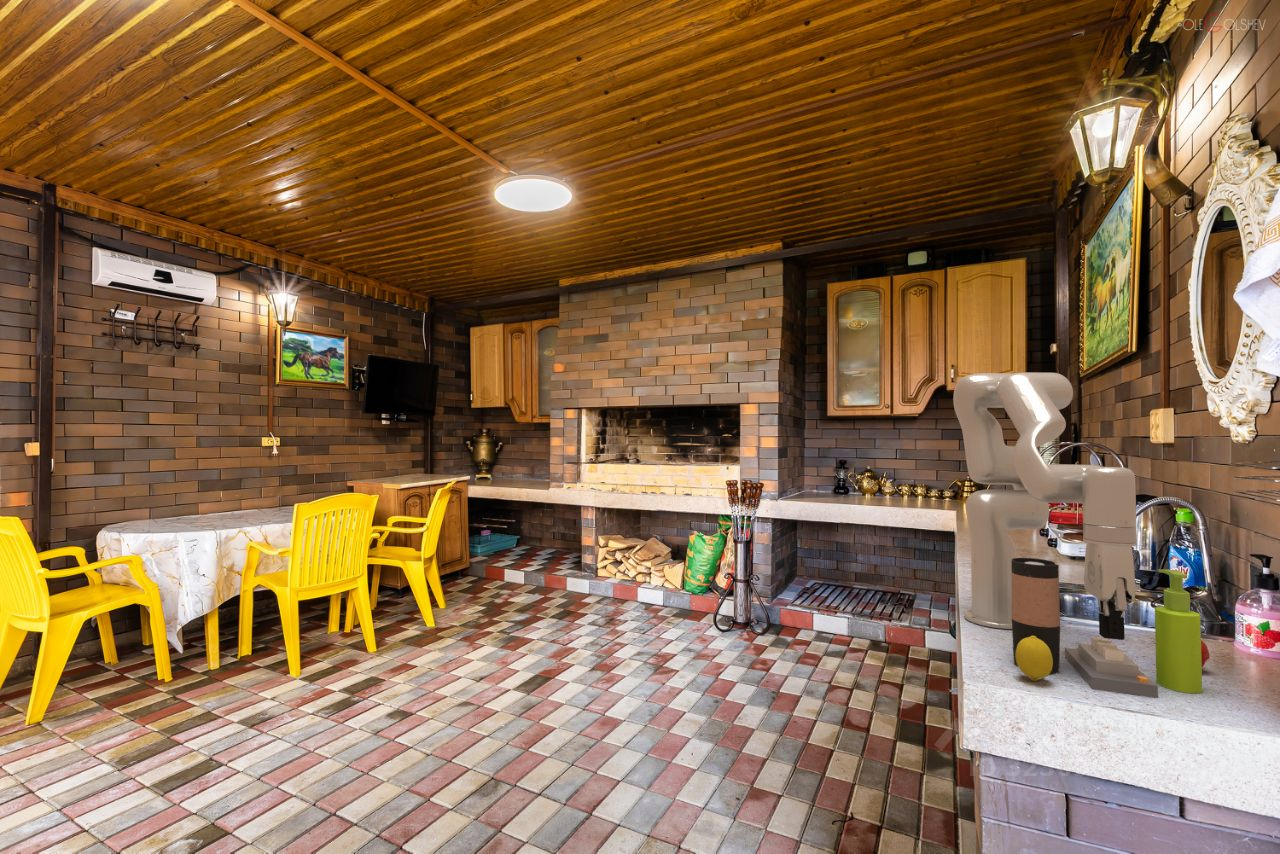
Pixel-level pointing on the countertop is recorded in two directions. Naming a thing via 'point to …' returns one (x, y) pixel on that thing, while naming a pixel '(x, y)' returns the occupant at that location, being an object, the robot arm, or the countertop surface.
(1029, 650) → the lemon
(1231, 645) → the countertop surface
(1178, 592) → the soap dispenser
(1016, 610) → the travel mug
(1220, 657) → the countertop surface
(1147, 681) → the breaker panel
